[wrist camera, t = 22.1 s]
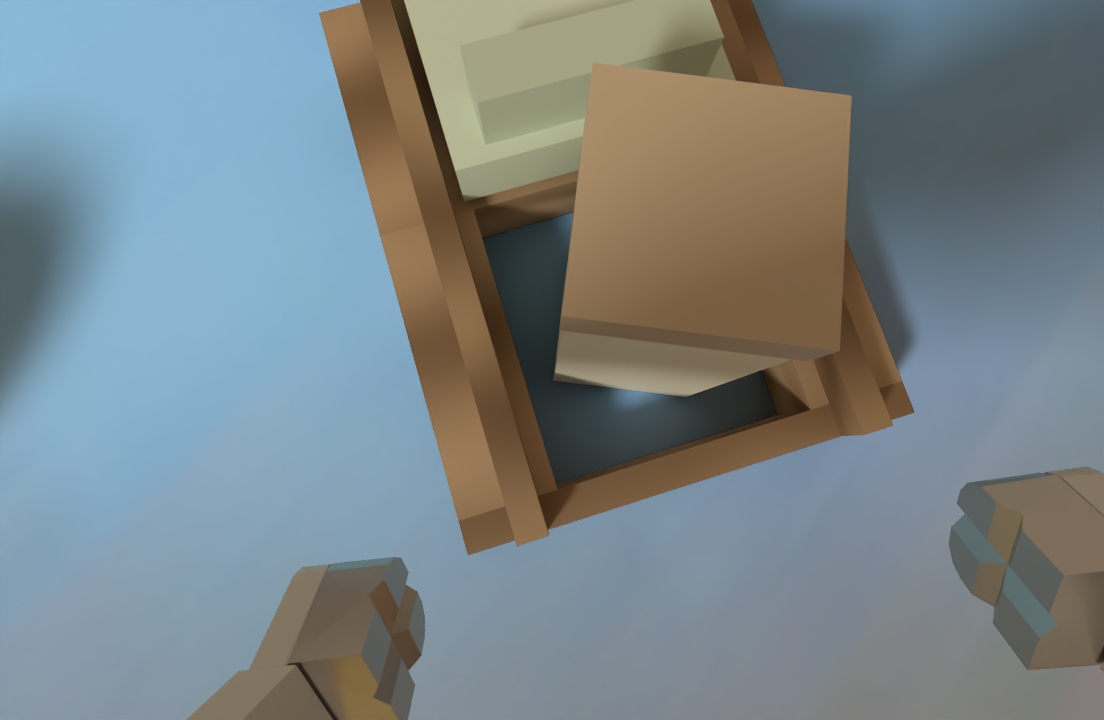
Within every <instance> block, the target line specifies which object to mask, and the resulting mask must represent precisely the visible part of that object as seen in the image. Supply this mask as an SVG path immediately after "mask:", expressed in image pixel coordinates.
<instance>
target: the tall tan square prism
mask: <svg viewBox="0 0 1104 720" xmlns="http://www.w3.org/2000/svg"><path fill="white" fill-rule="evenodd" d="M851 102H852V95H844V94H836V93H829V92H821V91H813V90H805V89H797V88H789V87H781V86H774V85H766V84H758V83H750V82H742V81H734V80H726V79H719V78H711V77H703V76H695V75H687V74H679V73H671V72H664V71H656V70H648V69H640V68H632V67H624V66H616V65H609V64H601V63H593V64H592V71H591V78H590V85H589V92H588V100H587V107H586V116H585V124H584V132H583V140H582V148H581V156H580V164H579V172H578V180H577V188H576V197H575V205H574V213H573V221H572V229H571V237H570V245H569V253H568V261H567V269H566V277H565V286H564V294H563V302H562V310H561V318H560V326H559V337H558V345H557V353H556V361H555V369H554V377H553V381H560V382H568V383H576V384H584V385H592V386H600V387H608V388H616V389H624V390H632V391H640V392H648V393H656V394H664V395H672V396H680V397H687V396H690V395H693V394H696V393H699V392H701V391H704V390H707V389H710V388H713V387H715V386H718V385H721V384H724V383H727V382H730V381H732V380H735V379H738V378H741V377H744V376H747V375H749V374H752V373H755V372H758V371H761V370H764V369H766V368H769V367H772V366H775V365H778V364H781V363H783V362H786V361H789V360H800V361H810V360H814V359H817V358H820V357H823V356H826V355H829V354H832V353H835V352H838V351H840V337H841V315H842V294H843V273H844V251H845V230H846V209H847V187H848V166H849V145H850V123H851Z"/></svg>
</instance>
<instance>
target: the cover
mask: <svg viewBox="0 0 1104 720" xmlns="http://www.w3.org/2000/svg"><path fill="white" fill-rule="evenodd" d="M404 2H405V5H406V8H407V12H408V15H409V18H410V22H411V25H412V28H413V32H414V35H415V38H416V42H417V45H418V48H419V52H420V55H421V58H422V62H423V65H424V68H425V72H426V75H427V78H428V82H429V85H430V88H431V92H432V95H433V99H434V102H435V105H436V109H437V112H438V115H439V119H440V122H441V125H442V129H443V132H444V135H445V139H446V142H447V145H448V149H449V152H450V155H451V159H452V162H453V165H454V169H455V172H456V175H457V179H458V182H459V185H460V189H461V192H462V195H463V199H464V202H465V201H469V200H472V199H476V198H480V197H483V196H487V195H490V194H494V193H498V192H501V191H505V190H509V189H512V188H516V187H519V186H523V185H527V184H530V183H534V182H537V181H541V180H545V179H548V178H552V177H555V176H559V175H563V174H566V173H570V172H573V171H577V170H579V164H580V156H581V148H582V140H583V132H584V124H585V116H586V107H587V100H588V92H589V85H590V78H591V71H592V64H593V63H601V64H609V65H616V66H624V67H632V68H640V69H648V70H656V71H664V72H671V73H679V74H687V75H695V76H703V77H711V78H719V79H726V80H734V81H736V80H735V77H734V74H733V72H732V69H731V67H730V64H729V61H728V59H727V56H726V53H725V51H724V48H723V46H722V41H723V39H724V35H723V33H722V30H721V28H720V25H719V22H718V20H717V17H716V15H715V12H714V9H713V7H712V4H711V2H710V0H404Z"/></svg>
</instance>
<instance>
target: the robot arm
mask: <svg viewBox="0 0 1104 720" xmlns="http://www.w3.org/2000/svg"><path fill="white" fill-rule="evenodd" d="M957 504H958V506H959V507H960V508H961V509H962V510H963V512H964V513H965V515H963V516H962V517H961V518H960V519H959V520H958V521H957V522H956V523H955V524H954V525H953V526H952V527H951V533H950V539H949V547H950V552H951V557H952V561H953V564H954V566H955V568H956V570H957V572H958V575H959V577H960V578H961V580H962V581H963V583H964V584H965V586H966V587H967V588H968V590H969V591H970V593H971V594H972V595H974V596H976V597H977V598H979V599H981V600H983V601H984V602H986V603H988V604H990V605H991V606H993V607H994V615H993V624H994V625H995V627H996V628H997V629H998V631H999V632H1000V634H1001V635H1002V636H1003V638H1004V639H1005V640H1006V642H1007V643H1008V644H1009V646H1010V647H1011V648H1012V650H1013V651H1014V652H1015V654H1016V655H1017V656H1018V658H1019V659H1020V661H1021V662H1022V663H1023V665H1024V666H1025V667H1026V669H1027V670H1036V669H1050V668H1064V667H1078V666H1091V665H1101V667H1100V669H1101V670H1103V671H1104V474H1103V473H1101V472H1099V471H1097V470H1095V469H1092V468H1090V467H1080V468H1073V469H1065V470H1058V471H1050V472H1045V473H1034V474H1027V475H1020V476H1012V477H1005V478H998V479H991V480H984V481H977V482H969V483H967V484H966V485H965V486H964V487H963V488H962V489H961V490H960V493H959V497H958V501H957ZM408 573H409V572H408V570H407V568H406V566H405V564H404V562H403V561H402V559H401V558H398V557H391V558H381V559H371V560H361V561H351V562H342V563H333V564H327V565H317V566H308V567H302V568H301V569H300V570H299V571H298V572H297V573H296V574H295V575H294V576H293V577H292V580H291V582H290V584H289V586H288V588H287V590H286V592H285V594H284V596H283V599H282V601H281V603H280V605H279V607H278V609H277V611H276V613H275V615H274V618H273V620H272V622H271V624H270V626H269V628H268V630H267V632H266V634H265V637H264V639H263V641H262V643H261V645H260V647H259V649H258V651H257V653H256V655H255V658H254V660H253V662H252V664H251V666H250V668H249V670H242V671H238V672H237V673H236V674H235V675H234V676H233V677H232V678H231V679H230V680H229V681H228V682H227V683H225V684H224V685H223V686H222V687H221V688H220V689H219V690H218V691H217V692H216V693H215V694H214V695H213V696H211V697H210V698H209V699H208V700H207V701H206V702H205V703H204V704H203V705H202V706H201V707H200V708H199V709H198V710H196V711H195V712H194V713H193V714H192V715H191V716H190V717H189V718H188V719H187V720H408V716H409V711H410V706H411V702H412V697H413V692H414V688H415V684H414V682H413V680H412V678H411V676H410V674H409V672H408V671H409V669H410V668H411V667H412V666H413V665H414V664H415V662H416V661H417V660H418V659H419V658H420V656H421V654H422V649H423V643H424V638H425V615H424V610H423V605H422V601H421V599H420V597H419V595H418V592H417V591H415V590H414V589H412V588H410V587H409V586H407V585H405V584H406V581H407V577H408Z"/></svg>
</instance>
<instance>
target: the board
mask: <svg viewBox="0 0 1104 720" xmlns="http://www.w3.org/2000/svg"><path fill="white" fill-rule="evenodd" d="M360 2H361V3H357V4H353V5H349V6H345V7H341V8H337V9H333V10H329V11H325V12H321V13H319V15H320V18H321V22H322V26H323V29H324V33H325V37H326V40H327V44H328V48H329V51H330V55H331V58H332V62H333V66H334V69H335V73H336V77H337V80H338V84H339V88H340V91H341V95H342V98H343V102H344V106H345V109H346V113H347V117H348V120H349V124H350V128H351V131H352V135H353V139H354V142H355V146H356V149H357V153H358V157H359V160H360V164H361V168H362V171H363V175H364V179H365V182H366V186H367V189H368V193H369V197H370V200H371V204H372V208H373V211H374V215H375V219H376V222H377V226H378V229H379V233H380V237H381V240H382V244H383V248H384V251H385V255H386V259H387V262H388V266H389V269H390V273H391V277H392V280H393V284H394V288H395V291H396V295H397V299H398V302H399V306H400V309H401V313H402V317H403V320H404V324H405V328H406V331H407V335H408V339H409V342H410V346H411V349H412V353H413V357H414V360H415V364H416V368H417V371H418V375H419V379H420V382H421V386H422V390H423V393H424V397H425V400H426V404H427V408H428V411H429V415H430V419H431V422H432V426H433V430H434V433H435V437H436V440H437V444H438V448H439V451H440V455H441V459H442V462H443V466H444V470H445V473H446V477H447V480H448V484H449V488H450V491H451V495H452V499H453V502H454V506H455V510H456V513H457V517H458V520H459V524H460V528H461V531H462V535H463V539H464V542H465V546H466V550H467V553H468V555H470V554H474V553H477V552H480V551H483V550H486V549H489V548H492V547H495V546H499V545H502V544H505V543H508V542H511V541H514V540H515V542H516V545H517V546H519V545H522V544H525V543H528V542H531V541H534V540H537V539H540V538H544V537H547V536H549V532H548V530H549V529H552V528H555V527H558V526H561V525H564V524H567V523H571V522H574V521H577V520H580V519H583V518H586V517H589V516H592V515H596V514H599V513H602V512H605V511H608V510H611V509H614V508H617V507H621V506H624V505H627V504H630V503H633V502H636V501H639V500H642V499H646V498H649V497H652V496H655V495H658V494H661V493H664V492H668V491H671V490H674V489H677V488H680V487H683V486H686V485H689V484H693V483H696V482H699V481H702V480H705V479H708V478H711V477H714V476H718V475H721V474H724V473H727V472H730V471H733V470H736V469H739V468H743V467H746V466H749V465H752V464H755V463H758V462H761V461H764V460H768V459H771V458H774V457H777V456H780V455H783V454H786V453H789V452H793V451H796V450H799V449H802V448H805V447H808V446H811V445H815V444H818V443H821V442H824V441H827V440H830V439H833V438H836V437H840V436H850V435H865V434H868V433H871V432H874V431H877V430H881V429H884V428H887V427H890V426H893V424H892V421H891V420H893V419H896V418H899V417H902V416H905V415H908V414H911V413H915V412H914V410H913V407H912V405H911V402H910V400H909V397H908V395H907V392H906V390H905V387H904V384H903V382H902V379H901V377H900V374H899V372H898V369H897V367H896V364H895V362H894V359H893V357H892V354H891V352H890V349H889V347H888V344H887V342H886V339H885V336H884V334H883V331H882V329H881V326H880V324H879V321H878V319H877V316H876V314H875V311H874V309H873V306H872V304H871V301H870V299H869V296H868V294H867V291H866V288H865V286H864V283H863V281H862V278H861V276H860V273H859V271H858V268H857V266H856V263H855V261H854V258H853V256H852V253H851V251H850V248H849V246H848V243H847V240H846V238H845V251H844V273H843V294H842V315H841V337H840V351H838V352H835V353H832V354H829V355H826V356H823V357H820V358H817V359H814V360H810V361H800V360H789V361H786V362H783V363H781V364H778V365H775V366H772V367H769V368H766V369H764V370H761V371H762V374H763V376H764V379H765V382H766V385H767V387H768V390H769V393H770V396H771V399H772V401H773V404H774V407H775V410H776V412H777V415H775V416H771V417H768V418H765V419H762V420H759V421H756V422H752V423H749V424H746V425H743V426H740V427H737V428H733V429H730V430H727V431H724V432H721V433H717V434H714V435H711V436H708V437H705V438H702V439H698V440H695V441H692V442H689V443H686V444H682V445H679V446H676V447H673V448H670V449H667V450H663V451H660V452H657V453H654V454H651V455H647V456H644V457H641V458H638V459H635V460H632V461H628V462H625V463H622V464H619V465H616V466H613V467H609V468H606V469H603V470H600V471H597V472H593V473H590V474H587V475H584V476H581V477H578V478H574V479H571V480H568V481H565V482H562V483H558V484H556V482H555V479H554V475H553V472H552V469H551V465H550V462H549V459H548V455H547V452H546V449H545V446H544V442H543V439H542V436H541V432H540V429H539V426H538V422H537V419H536V416H535V412H534V409H533V406H532V402H531V399H530V396H529V392H528V389H527V386H526V382H525V379H524V376H523V372H522V369H521V366H520V363H519V359H518V356H517V353H516V349H515V346H514V343H513V339H512V336H511V333H510V329H509V326H508V323H507V319H506V316H505V313H504V309H503V306H502V303H501V299H500V296H499V293H498V290H497V286H496V283H495V280H494V276H493V273H492V270H491V266H490V263H489V260H488V256H487V253H486V250H485V246H484V243H483V240H482V238H483V237H487V236H491V235H494V234H498V233H501V232H505V231H508V230H512V229H515V228H519V227H522V226H526V225H530V224H533V223H537V222H540V221H544V220H547V219H551V218H554V217H558V216H561V215H565V214H569V213H572V212H574V205H575V197H576V188H577V180H578V172H579V170H577V171H573V172H570V173H566V174H563V175H559V176H555V177H552V178H548V179H545V180H541V181H537V182H534V183H530V184H527V185H523V186H519V187H516V188H512V189H509V190H505V191H501V192H498V193H494V194H490V195H487V196H483V197H480V198H476V199H472V200H469V201H465V202H464V199H463V195H462V192H461V189H460V185H459V182H458V179H457V175H456V172H455V169H454V165H453V162H452V159H451V155H450V152H449V149H448V145H447V142H446V139H445V135H444V132H443V129H442V125H441V122H440V119H439V115H438V112H437V109H436V105H435V102H434V99H433V95H432V92H431V88H430V85H429V82H428V78H427V75H426V72H425V68H424V65H423V62H422V58H421V55H420V52H419V48H418V45H417V42H416V38H415V35H414V32H413V28H412V25H411V22H410V18H409V15H408V12H407V8H406V5H405V2H404V0H360ZM710 2H711V4H712V7H713V9H714V12H715V15H716V17H717V20H718V22H719V25H720V28H721V30H722V33H723V35H724V39H723V41H722V46H723V48H724V51H725V53H726V56H727V59H728V61H729V64H730V67H731V69H732V72H733V74H734V77H735V80H736V81H742V82H750V83H758V84H766V85H774V86H781V87H786V86H785V84H784V81H783V79H782V76H781V74H780V71H779V69H778V66H777V64H776V61H775V59H774V56H773V54H772V51H771V49H770V46H769V43H768V41H767V38H766V36H765V33H764V31H763V28H762V26H761V23H760V21H759V18H758V16H757V13H756V11H755V8H754V6H753V3H752V1H751V0H710Z"/></svg>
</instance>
